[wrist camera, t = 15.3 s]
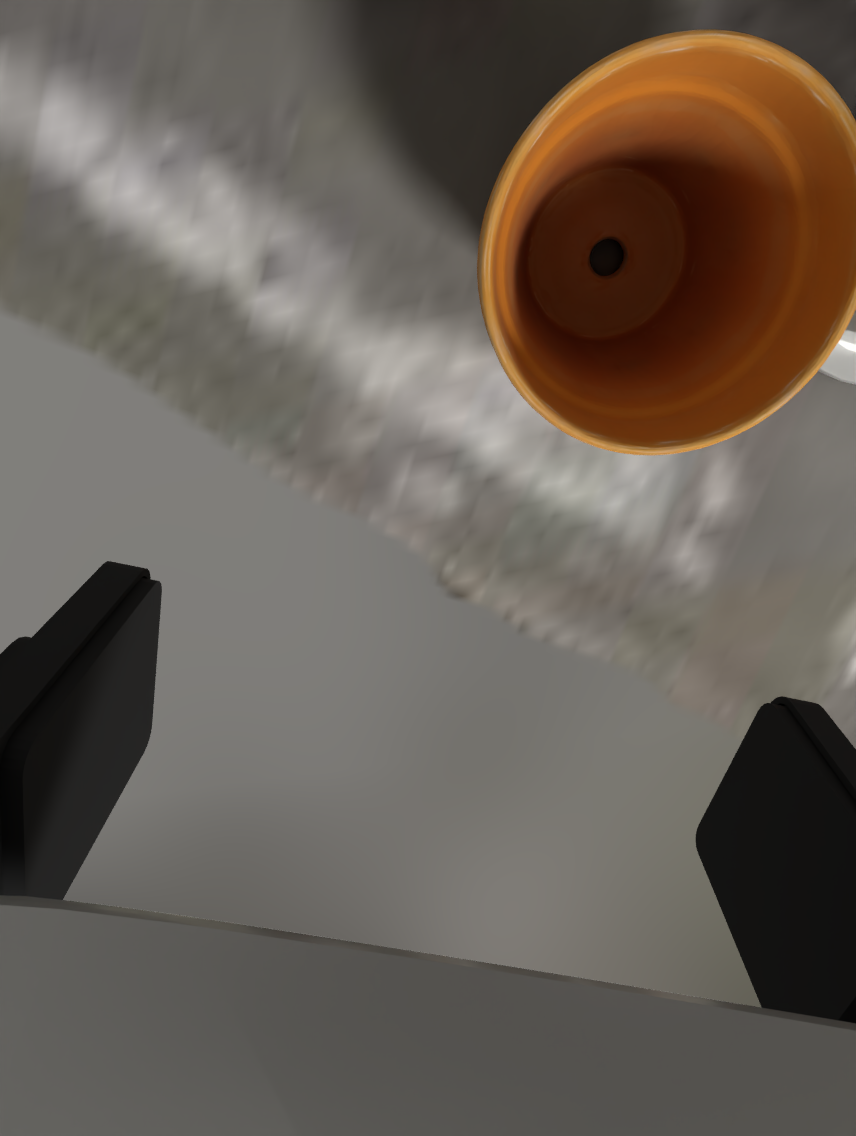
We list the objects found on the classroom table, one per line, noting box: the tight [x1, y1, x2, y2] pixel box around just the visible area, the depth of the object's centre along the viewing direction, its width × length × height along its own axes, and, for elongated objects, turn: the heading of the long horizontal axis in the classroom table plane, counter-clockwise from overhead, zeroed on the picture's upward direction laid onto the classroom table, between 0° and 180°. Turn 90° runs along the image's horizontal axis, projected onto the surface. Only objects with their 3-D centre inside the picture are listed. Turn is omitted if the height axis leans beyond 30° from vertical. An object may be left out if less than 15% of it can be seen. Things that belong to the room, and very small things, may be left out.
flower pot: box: [477, 29, 856, 455], centre depth 32 cm, size 14×14×13 cm
